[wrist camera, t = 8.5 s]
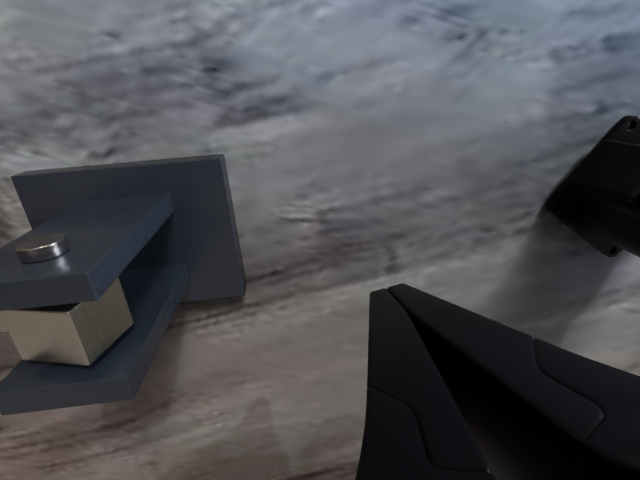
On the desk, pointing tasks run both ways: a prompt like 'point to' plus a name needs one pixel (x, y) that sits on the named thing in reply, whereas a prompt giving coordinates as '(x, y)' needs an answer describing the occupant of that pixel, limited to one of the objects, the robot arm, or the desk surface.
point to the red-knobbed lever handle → (69, 328)
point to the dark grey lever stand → (117, 264)
